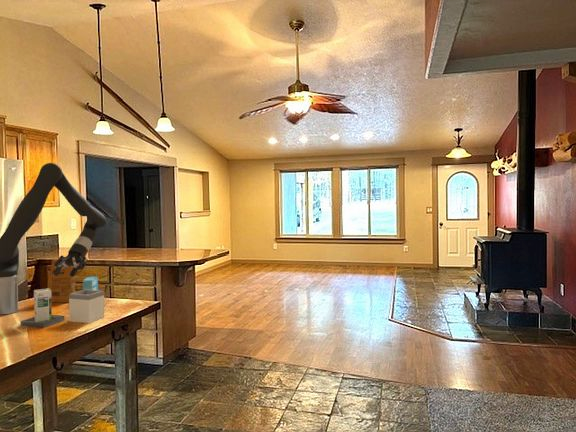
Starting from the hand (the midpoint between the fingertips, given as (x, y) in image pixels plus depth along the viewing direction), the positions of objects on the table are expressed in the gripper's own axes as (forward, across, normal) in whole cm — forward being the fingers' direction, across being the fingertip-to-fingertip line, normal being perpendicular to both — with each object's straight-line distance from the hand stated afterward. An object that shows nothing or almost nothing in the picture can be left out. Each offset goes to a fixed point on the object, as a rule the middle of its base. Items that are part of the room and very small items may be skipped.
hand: (63, 275), depth 193 cm
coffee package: (-4, -22, +30) cm, 38 cm away
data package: (-7, -8, +33) cm, 35 cm away
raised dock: (+14, +14, +12) cm, 23 cm away
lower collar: (+22, 0, +5) cm, 22 cm away
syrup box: (+22, 0, +5) cm, 22 cm away
